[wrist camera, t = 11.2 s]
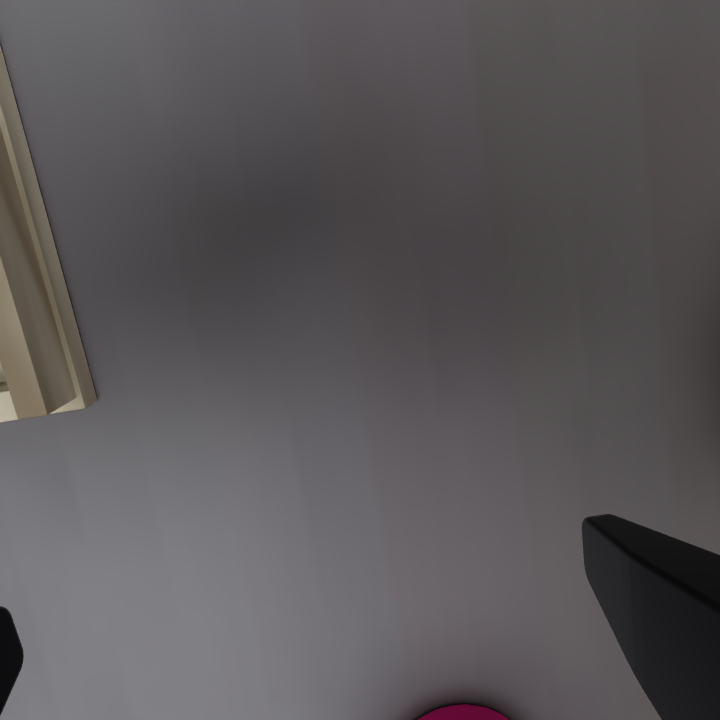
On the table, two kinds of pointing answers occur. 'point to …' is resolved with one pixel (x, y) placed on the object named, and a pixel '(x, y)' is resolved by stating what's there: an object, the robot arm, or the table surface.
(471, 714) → the pepper mill
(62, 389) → the divided wooden tray
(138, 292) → the table surface
